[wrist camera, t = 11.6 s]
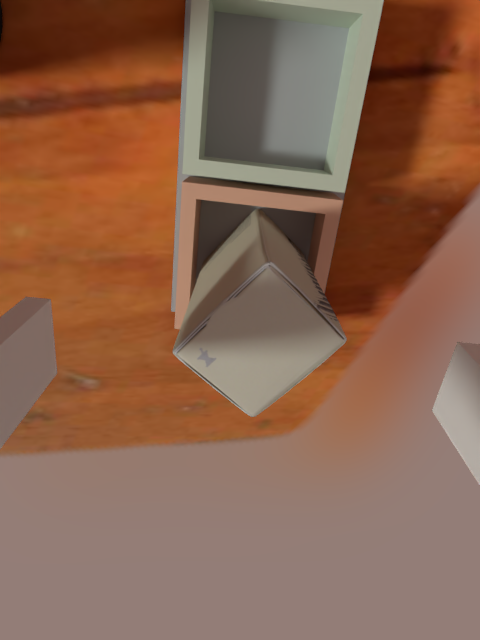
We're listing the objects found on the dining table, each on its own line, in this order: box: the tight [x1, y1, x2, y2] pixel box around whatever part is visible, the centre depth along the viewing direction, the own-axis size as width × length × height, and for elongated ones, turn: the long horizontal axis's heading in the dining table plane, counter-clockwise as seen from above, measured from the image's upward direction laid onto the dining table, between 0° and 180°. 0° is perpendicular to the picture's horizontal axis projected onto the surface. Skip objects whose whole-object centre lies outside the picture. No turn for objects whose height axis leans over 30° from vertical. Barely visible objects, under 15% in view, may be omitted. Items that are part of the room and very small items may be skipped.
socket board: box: [171, 0, 384, 329], centre depth 24 cm, size 18×10×4 cm, turn 174°
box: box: [173, 209, 346, 417], centre depth 21 cm, size 5×4×13 cm
